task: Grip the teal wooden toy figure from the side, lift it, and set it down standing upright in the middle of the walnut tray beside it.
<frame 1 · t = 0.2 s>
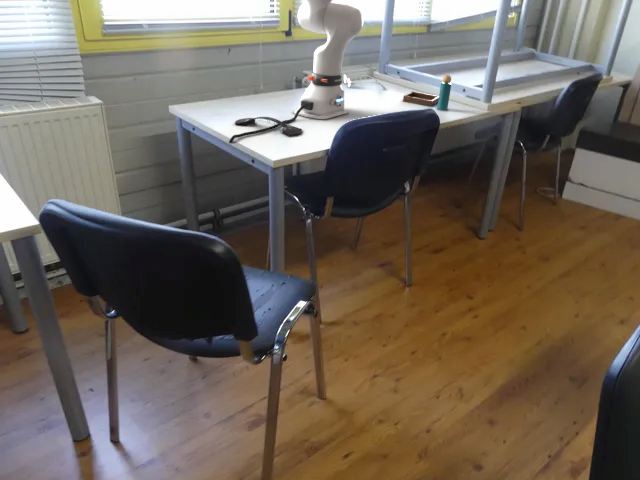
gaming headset: (268, 128, 193), on the table
toy figure: (442, 109, 238), on the table
tray: (421, 101, 247), on the table
eyeglasses: (364, 86, 265), on the table
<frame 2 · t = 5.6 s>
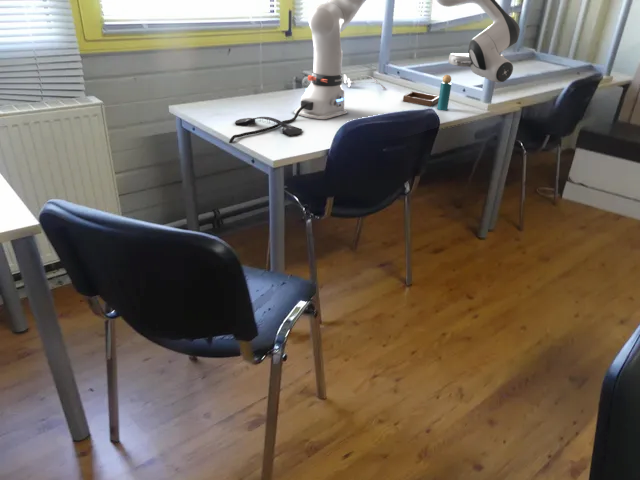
hand: (465, 56, 216), 24 cm above the table, tool horizontal, fingers open, 8 cm apart
nothing on the table moved.
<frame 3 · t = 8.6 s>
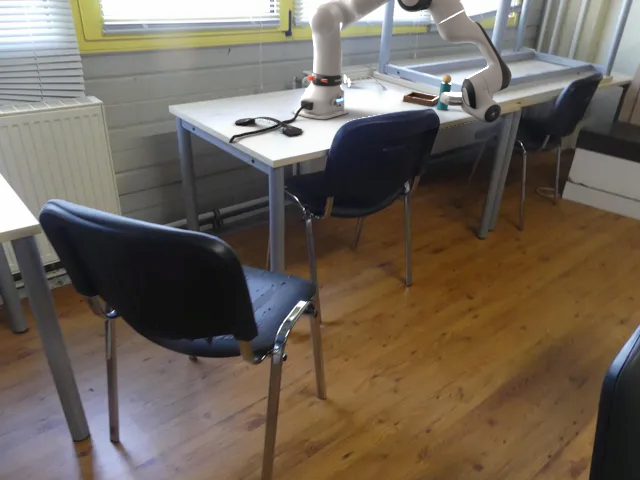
hand: (456, 93, 225), 9 cm above the table, tool horizontal, fingers open, 8 cm apart
nothing on the table moved.
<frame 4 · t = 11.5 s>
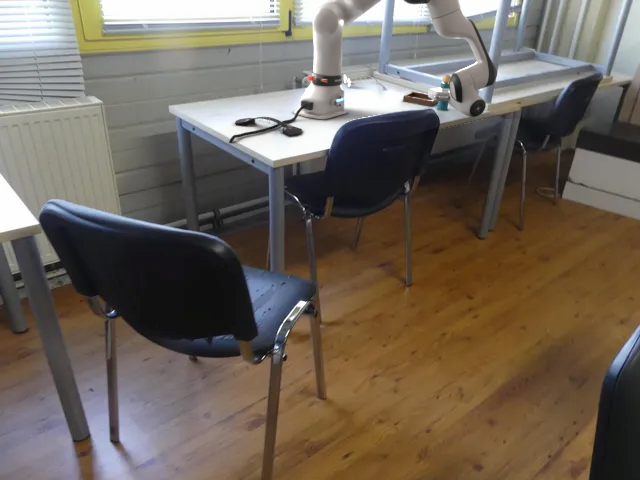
hand: (444, 89, 234), 8 cm above the table, tool horizontal, fingers closed on toy figure, 4 cm apart
toy figure: (442, 109, 238), on the table, touching gripper
everything else where it was.
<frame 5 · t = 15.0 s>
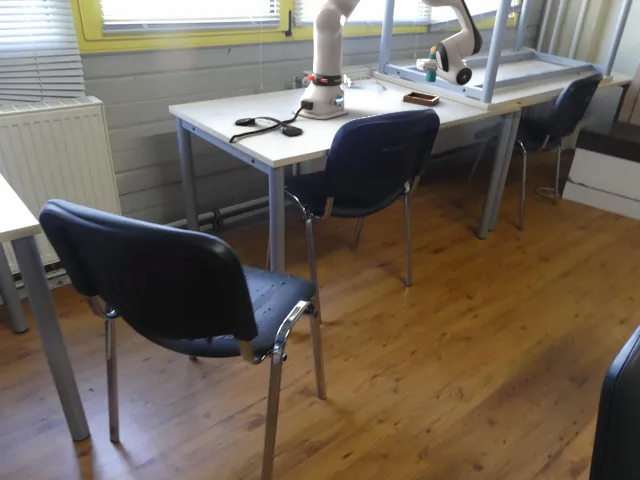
hand: (432, 61, 235), 18 cm above the table, tool horizontal, fingers closed on toy figure, 4 cm apart
toy figure: (430, 81, 239), point 10 cm above the table, touching gripper
everything else where it was.
when the fingers open (9 cm above the table, at t = 18.6 s): toy figure stays where it is, resting on tray.
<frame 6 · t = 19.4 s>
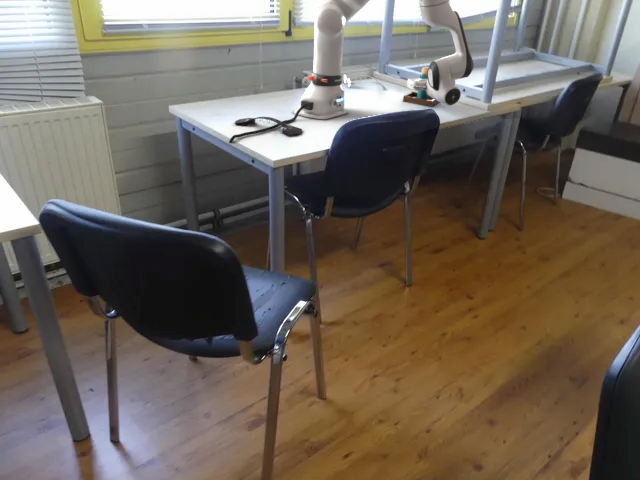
hand: (423, 80, 243), 9 cm above the table, tool horizontal, fingers open, 8 cm apart
toy figure: (421, 100, 246), point 1 cm above the table, touching tray
everything else where it was.
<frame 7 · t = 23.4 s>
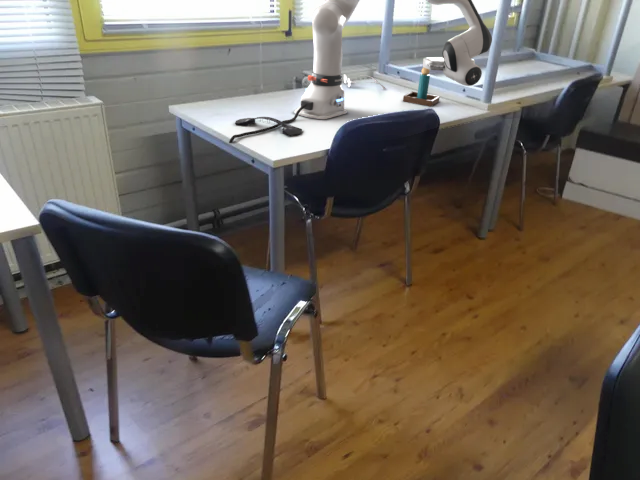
hand: (439, 60, 227), 20 cm above the table, tool horizontal, fingers open, 8 cm apart
nothing on the table moved.
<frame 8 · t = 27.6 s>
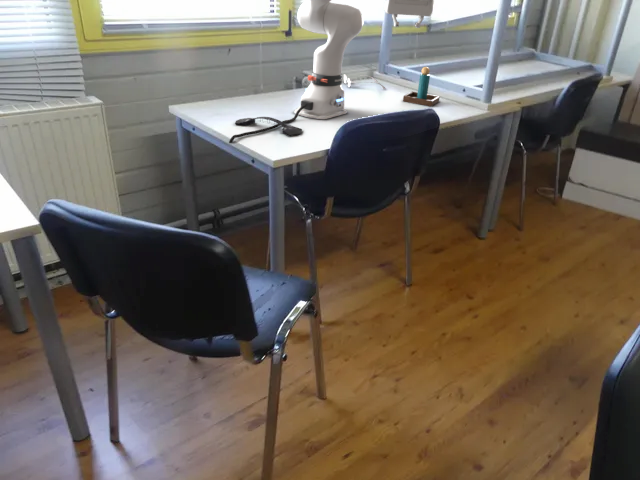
hand: (406, 27, 223), 31 cm above the table, tool pointing down, fingers open, 8 cm apart
nothing on the table moved.
at the end: toy figure inside the target area in the tray (0.1 cm from its centre), point 0.6 cm above the tray's base; toy figure tilted 0°; the gripper is holding nothing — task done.
